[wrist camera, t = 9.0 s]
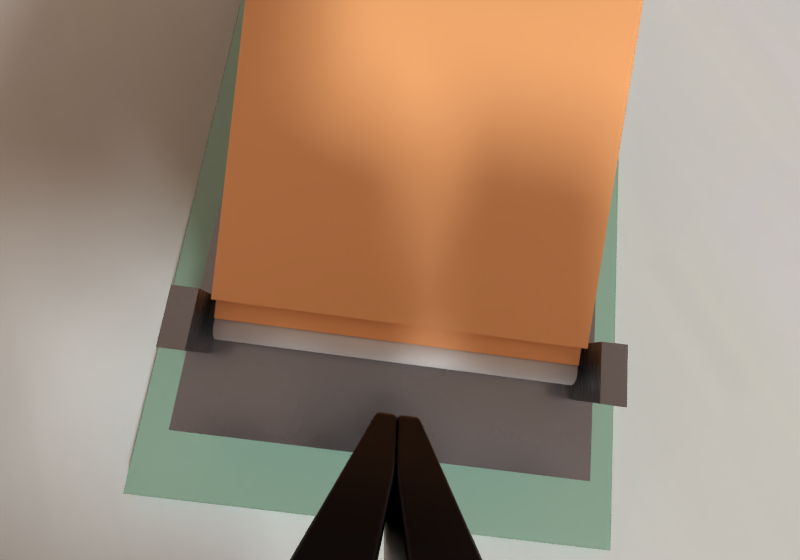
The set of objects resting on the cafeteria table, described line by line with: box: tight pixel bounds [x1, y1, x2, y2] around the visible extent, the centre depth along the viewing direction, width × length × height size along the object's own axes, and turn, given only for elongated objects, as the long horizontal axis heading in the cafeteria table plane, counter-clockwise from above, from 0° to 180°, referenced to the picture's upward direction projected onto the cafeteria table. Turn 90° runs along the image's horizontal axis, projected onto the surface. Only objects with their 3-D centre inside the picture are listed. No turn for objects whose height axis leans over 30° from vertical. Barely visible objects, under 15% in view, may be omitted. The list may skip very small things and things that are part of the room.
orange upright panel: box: [211, 0, 643, 385], centre depth 12 cm, size 2×10×11 cm
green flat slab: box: [123, 0, 618, 550], centre depth 17 cm, size 22×16×1 cm
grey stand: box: [156, 187, 628, 481], centre depth 12 cm, size 17×12×10 cm
